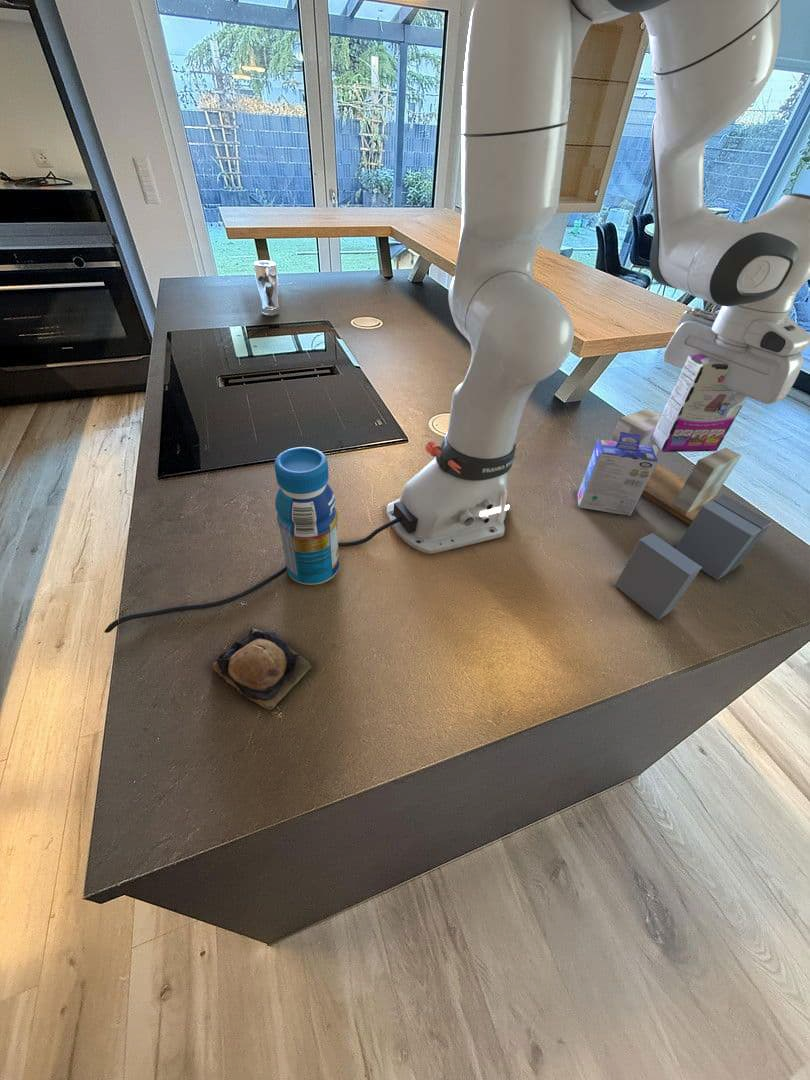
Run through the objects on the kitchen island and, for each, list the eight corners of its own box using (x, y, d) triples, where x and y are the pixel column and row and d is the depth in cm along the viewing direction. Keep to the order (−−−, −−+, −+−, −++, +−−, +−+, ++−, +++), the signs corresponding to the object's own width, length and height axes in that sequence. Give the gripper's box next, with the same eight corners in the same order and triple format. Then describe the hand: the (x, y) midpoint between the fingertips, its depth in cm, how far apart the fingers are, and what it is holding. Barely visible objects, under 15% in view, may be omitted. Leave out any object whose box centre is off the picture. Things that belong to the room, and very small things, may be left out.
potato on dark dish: (315, 666, 60) (313, 650, 57) (267, 716, 55) (262, 701, 52) (258, 625, 64) (253, 609, 61) (207, 669, 59) (200, 652, 56)
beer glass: (257, 315, 155) (249, 264, 145) (265, 308, 160) (258, 259, 150) (277, 317, 155) (271, 266, 144) (284, 311, 160) (279, 261, 149)
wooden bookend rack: (695, 528, 85) (727, 479, 77) (597, 466, 99) (616, 418, 91) (727, 510, 90) (761, 461, 82) (629, 453, 103) (650, 406, 96)
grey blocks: (657, 620, 69) (689, 575, 62) (614, 585, 73) (639, 539, 66) (737, 566, 78) (772, 522, 71) (694, 538, 83) (723, 494, 76)
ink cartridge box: (627, 499, 90) (659, 434, 80) (631, 517, 86) (666, 450, 76) (576, 491, 91) (601, 425, 81) (578, 508, 87) (605, 441, 77)
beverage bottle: (274, 571, 71) (252, 462, 58) (311, 541, 77) (299, 435, 63) (315, 596, 68) (302, 487, 55) (351, 563, 74) (347, 457, 60)
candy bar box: (701, 438, 90) (749, 353, 78) (716, 452, 86) (768, 365, 75) (647, 438, 89) (688, 352, 77) (660, 452, 85) (704, 364, 74)
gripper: (676, 306, 77) (642, 385, 87) (805, 349, 65) (749, 435, 74) (697, 302, 80) (662, 379, 89) (825, 342, 68) (769, 426, 77)
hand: (703, 405), depth 82 cm, fingers closed on candy bar box, 6 cm apart
